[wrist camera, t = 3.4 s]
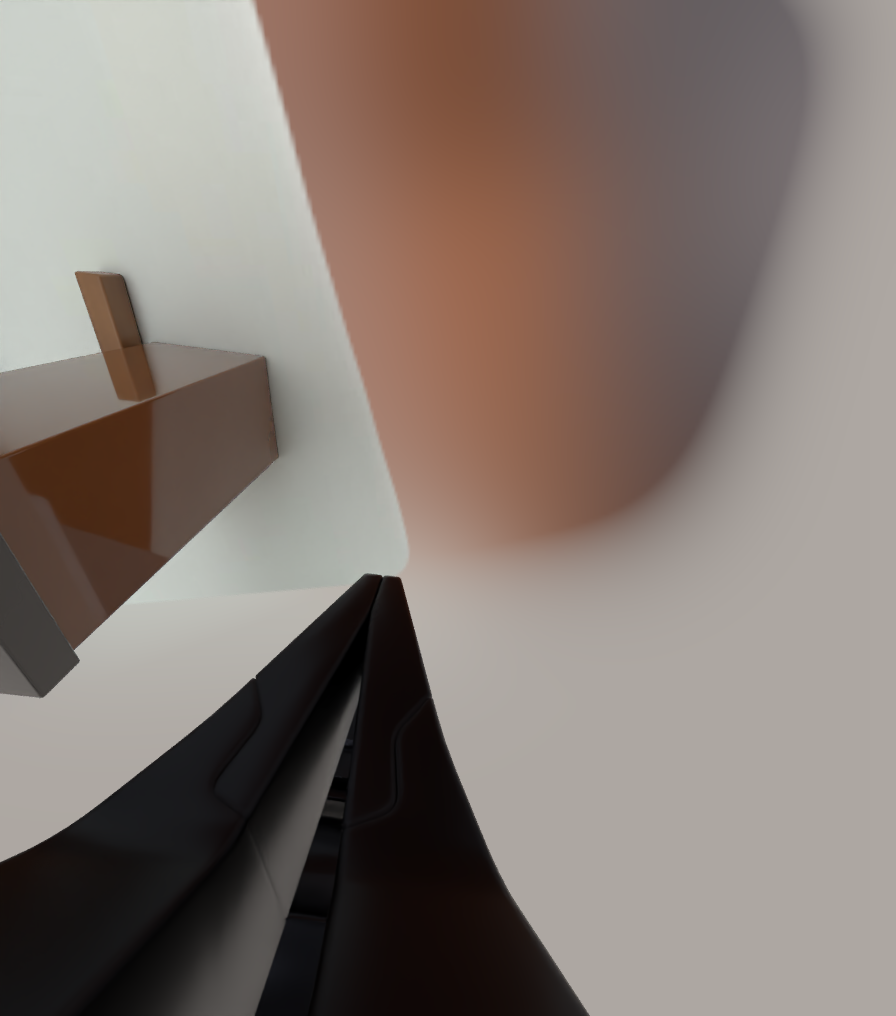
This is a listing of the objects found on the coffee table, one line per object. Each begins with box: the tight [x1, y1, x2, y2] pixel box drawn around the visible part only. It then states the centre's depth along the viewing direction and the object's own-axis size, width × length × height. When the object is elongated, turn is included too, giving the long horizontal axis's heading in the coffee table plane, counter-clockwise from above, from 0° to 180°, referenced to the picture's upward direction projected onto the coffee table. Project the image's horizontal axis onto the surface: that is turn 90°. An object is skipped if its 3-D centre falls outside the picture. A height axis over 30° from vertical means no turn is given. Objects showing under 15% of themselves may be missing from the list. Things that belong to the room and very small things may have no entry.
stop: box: [75, 271, 142, 352], centre depth 18 cm, size 10×1×1 cm, turn 174°
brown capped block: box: [0, 342, 278, 698], centre depth 13 cm, size 5×5×13 cm
